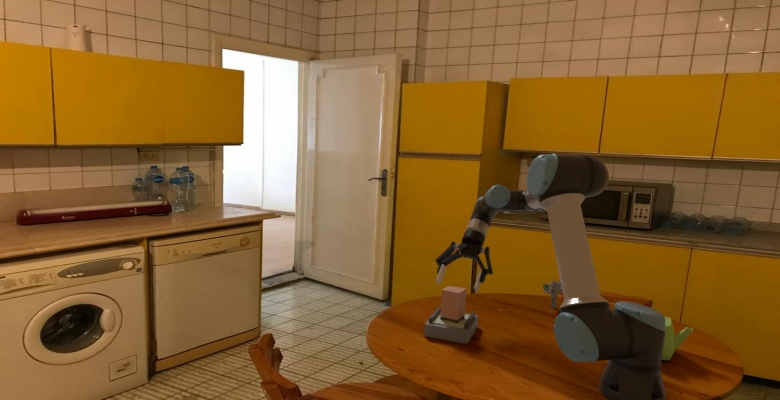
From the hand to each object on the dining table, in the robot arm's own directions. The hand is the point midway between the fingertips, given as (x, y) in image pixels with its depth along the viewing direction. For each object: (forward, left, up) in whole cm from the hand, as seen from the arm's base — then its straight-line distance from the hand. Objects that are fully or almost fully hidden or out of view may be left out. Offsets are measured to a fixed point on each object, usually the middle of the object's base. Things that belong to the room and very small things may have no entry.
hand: (456, 286), depth 167 cm
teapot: (+7, -61, -15) cm, 63 cm away
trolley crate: (-3, 0, -10) cm, 11 cm away
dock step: (-3, 0, -14) cm, 15 cm away
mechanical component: (+38, -30, -15) cm, 50 cm away
